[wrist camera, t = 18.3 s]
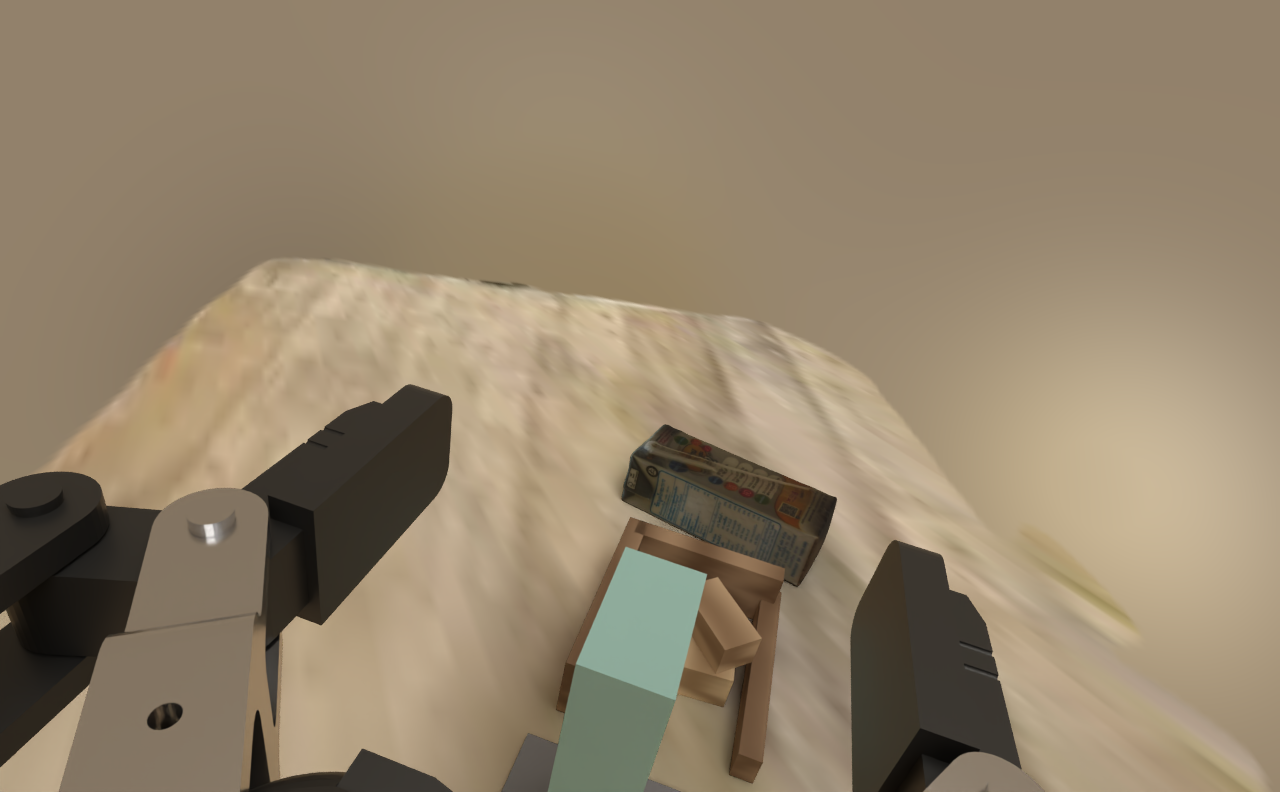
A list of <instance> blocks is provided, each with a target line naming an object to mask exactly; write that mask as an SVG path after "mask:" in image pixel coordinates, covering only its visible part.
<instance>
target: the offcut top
mask: <svg viewBox="0 0 1280 792" xmlns="http://www.w3.org/2000/svg"><path fill="white" fill-rule="evenodd" d="M692 637H693V639H694V640H695V642H696V644H697V645H698V647H699V648H700V650H701V651H702V653H703V655H704V656H705V658H706V659H707V661H708V663H709V664H710V666H711V667H712V669H713V671H714V672H715V674H718V673H721V672H724V671H727V670H730V669H733V668H736V667H739V666H742V665H745V664H748V663H751V662H752V661H753V658H754V656H755V654H756V651H757V649H758V647H759V644H760V642H761V639H762V638H761V636H760V635H759V634H758V632H757V631H756V630H755V628H754V627H753V625H752V624H751V623H750V621H749V620H748V618H747V617H746V616H745V614H744V613H743V611H742V610H741V609H740V607H739V606H738V605H737V603H736V602H735V600H734V599H733V598H732V596H731V595H730V593H729V592H728V591H727V589H726V588H725V587H724V585H723V584H722V582H721V581H720V580H719V578H718V577H717V578H713V579H709V580H706V581H705V585H704V589H703V593H702V597H701V601H700V605H699V609H698V613H697V617H696V621H695V625H694V629H693V633H692Z"/></svg>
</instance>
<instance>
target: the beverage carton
mask: <svg viewBox="0 0 1280 792" xmlns="http://www.w3.org/2000/svg"><path fill="white" fill-rule="evenodd" d="M622 500H623V501H625V502H627V503H629V504H631V505H633V506H635V507H637V508H639V509H641V510H643V511H645V512H647V513H649V514H651V515H653V516H655V517H657V518H659V519H661V520H663V521H664V522H666V523H668V524H671V525H673V526H675V527H677V528H679V529H681V530H683V531H685V532H687V533H690V534H692V535H694V536H696V537H698V538H700V539H702V540H704V541H706V542H708V543H710V544H713V545H716V546H719V547H722V548H725V549H728V550H731V551H734V552H737V553H740V554H743V555H746V556H749V557H752V558H755V559H758V560H761V561H764V562H767V563H770V564H773V565H776V566H779V567H782V568H785V572H784V580H786V581H788V582H790V583H792V584H794V585H796V586H799V585H800V583H801V582H802V580H803V579H804V577H805V576H806V574H807V572H808V571H809V569H810V567H811V566H812V564H813V562H814V560H815V558H816V557H817V555H818V553H819V551H820V549H821V547H822V545H823V543H824V540H825V538H826V535H827V533H828V530H829V526H830V523H831V520H832V516H833V513H834V509H835V505H836V502H837V498H836V497H833V496H830V495H828V494H826V493H824V492H821V491H819V490H817V489H815V488H812V487H810V486H808V485H805V484H802V483H800V482H798V481H795V480H793V479H791V478H788V477H786V476H784V475H781V474H779V473H777V472H774V471H772V470H769V469H767V468H765V467H762V466H760V465H757V464H755V463H753V462H750V461H748V460H745V459H743V458H741V457H739V456H736V455H734V454H731V453H729V452H727V451H725V450H723V449H720V448H718V447H716V446H714V445H711V444H709V443H706V442H704V441H702V440H699V439H697V438H695V437H693V436H690V435H688V434H686V433H684V432H682V431H680V430H677V429H675V428H673V427H671V426H669V425H663V426H662V427H661V428H660V429H658V430H657V431H656V432H655V433H654V434H653V435H652V436H651V437H650V438H649V439H648V440H647V441H645V442H644V443H643V444H642V445H641V446H640V447H639V448H637V449H636V450H635V451H634V452H633V453H632V455H631V457H630V463H629V469H628V473H627V476H626V479H625V482H624V490H623V494H622Z"/></svg>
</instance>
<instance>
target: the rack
mask: <svg viewBox="0 0 1280 792" xmlns="http://www.w3.org/2000/svg"><path fill="white" fill-rule="evenodd" d="M625 547H628V548H631V549H634V550H637V551H640V552H643V553H646V554H649V555H652V556H655V557H658V558H661V559H664V560H667V561H670V562H673V563H675V564H678V565H681V566H684V567H687V568H690V569H693V570H696V571H699V572H702V573H705V574H707V577H706V580H709V579H713V578H717V577H718V578H719V580H720V581H721V582H722V584H723V585H724V587H725V588H726V589H727V591H728V592H729V593H730V595H731V596H732V598H733V599H734V600H735V602H736V603H737V605H738V606H739V607H740V609H741V610H742V611H743V613H744V614H745V616H746V617H747V618H750V619H753V623H752V625H753V627H754V628H755V630H756V631H757V632H758V634H759V635H760V636H761V638H762V639H761V642H760V644H759V647H758V649H757V651H756V654H755V656H754V658H753V661H752V662H751V663H748V664H746V668H745V675H744V681H743V688H742V694H741V701H740V707H739V714H738V720H737V727H736V733H735V740H734V746H733V753H732V759H731V766H730V772H729V775H731V776H734V777H737V778H739V779H742V780H745V781H747V782H750V783H753V781H754V779H755V777H756V775H757V773H758V771H759V769H760V767H761V765H762V763H763V756H764V747H765V738H766V729H767V719H768V710H769V701H770V692H771V683H772V674H773V665H774V656H775V647H776V638H777V629H778V620H779V610H780V601H781V592H779V591H780V589H781V586H782V584H783V581H784V572H785V568H782V567H779V566H776V565H773V564H770V563H767V562H764V561H761V560H758V559H755V558H752V557H749V556H746V555H743V554H740V553H737V552H734V551H731V550H728V549H725V548H722V547H719V546H716V545H713V544H710V543H707V542H704V541H701V540H698V539H695V538H692V537H689V536H686V535H683V534H680V533H677V532H674V531H671V530H668V529H665V528H662V527H659V526H655V525H652V524H649V523H646V522H643V521H640V520H637V519H634V518H631V517H630V519H629V521H628V524H627V526H626V528H625V530H624V533H623V535H622V537H621V539H620V542H619V544H618V546H617V548H616V551H615V553H614V555H613V557H612V560H611V562H610V564H609V566H608V569H607V571H606V573H605V575H604V578H603V580H602V582H601V584H600V587H599V589H598V591H597V593H596V596H595V598H594V600H593V603H592V605H591V607H590V609H589V612H588V614H587V616H586V618H585V621H584V623H583V625H582V627H581V630H580V632H579V634H578V636H577V639H576V641H575V643H574V645H573V648H572V650H571V652H570V654H569V657H568V659H567V661H566V665H565V669H564V674H563V679H562V684H561V689H560V693H559V698H558V703H557V708H556V710H559V711H561V712H564V713H565V711H566V706H567V702H568V697H569V693H570V688H571V684H572V679H573V675H574V670H575V666H576V662H577V660H578V658H579V655H580V653H581V651H582V648H583V646H584V644H585V641H586V639H587V637H588V634H589V632H590V630H591V627H592V625H593V622H594V620H595V618H596V615H597V613H598V611H599V608H600V606H601V604H602V601H603V599H604V597H605V594H606V592H607V590H608V587H609V585H610V583H611V580H612V578H613V575H614V573H615V571H616V568H617V566H618V564H619V561H620V559H621V557H622V554H623V552H624V550H625Z"/></svg>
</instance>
